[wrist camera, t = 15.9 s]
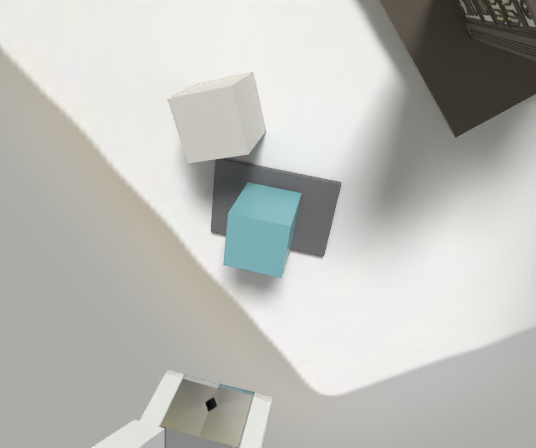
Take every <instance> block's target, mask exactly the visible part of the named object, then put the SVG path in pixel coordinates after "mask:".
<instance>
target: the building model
mask: <svg viewBox="0 0 536 448" xmlns="http://www.w3.org/2000/svg"><path fill="white" fill-rule="evenodd" d="M379 2H380V3H381V5H382V7H383V9H384V11H385V12H386V14H387V16H388V18H389V20H390V21H391V23H392V25H393V27H394V29H395V30H396V32H397V34H398V36H399V38H400V39H401V41H402V43H403V45H404V47H405V48H406V50H407V52H408V54H409V56H410V58H411V59H412V61H413V63H414V65H415V67H416V68H417V70H418V72H419V74H420V76H421V77H422V79H423V81H424V83H425V85H426V86H427V88H428V90H429V92H430V94H431V95H432V97H433V99H434V101H435V103H436V104H437V106H438V108H439V110H440V112H441V113H442V115H443V117H444V119H445V121H446V122H447V124H448V126H449V128H450V130H451V131H452V133H453V134H454V136H455V137H457V136H459V135H461V134H463V133H465V132H467V131H468V130H470V129H472V128H474V127H476V126H478V125H479V124H481V123H483V122H485V121H487V120H489V119H490V118H492V117H494V116H496V115H498V114H500V113H501V112H503V111H505V110H507V109H509V108H511V107H512V106H514V105H516V104H518V103H520V102H522V101H523V100H525V99H527V98H529V97H531V96H533V95H534V94H536V0H379Z"/></svg>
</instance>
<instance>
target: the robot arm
mask: <svg viewBox="0 0 536 448" xmlns="http://www.w3.org/2000/svg"><path fill="white" fill-rule="evenodd" d="M254 393H255V392H251V391H247V390H243V389H239V388H235V387H231V386H227V385H223V384H216V383H213V382H210V381H206V380H203V379H199V378H196V377H192V376H189V375H186V374H182V373H178V372H175V371H171V370H168V371H167V372H166V373H165V374H164V376H163V378H162V380H161V381H160V383H159V385H158V387H157V389H156V391H155V393H154V395H153V397H152V398H151V400H150V402H149V404H148V406H147V407H146V409H145V411H144V413H143V415H142V417H141V419H140V421H137V420H133V421H132V422H130V423H129V424H127V425H126V426H124V427H122V428H121V429H119V430H118V431H117V432H115V433H113V434H111V435H110V436H108V437H107V438H105V439H104V440H102V441H101V442H99V443H98V444H96V445H95V446H93V447H92V448H263V443H264V438H265V434H266V429H267V424H268V420H269V414H270V410H271V405H272V400H273V397H268V396H265V395H261V394H257V393H255V394H254Z"/></svg>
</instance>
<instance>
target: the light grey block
mask: <svg viewBox="0 0 536 448" xmlns="http://www.w3.org/2000/svg"><path fill="white" fill-rule="evenodd" d="M168 102H169V105H170V108H171V111H172V115H173V118H174V121H175V124H176V128H177V131H178V134H179V137H180V140H181V144H182V147H183V150H184V153H185V156H186V160H187V163H195V162H202V161H208V160H215V159H222V158H228V157H235V156H242V155H248V154H249V153H250V152H251V150H252V149H253V148H254V146H255V145H256V144H257V142H258V141H259V140H260V138H261V137H262V136H263V134H264V133H265V132H266V129H265V124H264V120H263V115H262V110H261V106H260V101H259V97H258V92H257V88H256V83H255V78H254V74H253V72H250V73H246V74H241V75H236V76H231V77H226V78H222V79H217V80H212V81H207V82H202V83H198V84H196V85H194V86H192V87H190V88H188V89H186V90H184V91H182V92H180V93H178V94H176V95H174V96H172V97H170V98H168Z"/></svg>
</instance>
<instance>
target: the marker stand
mask: <svg viewBox="0 0 536 448" xmlns="http://www.w3.org/2000/svg"><path fill="white" fill-rule="evenodd" d="M248 182H250V183H255V184H259V185H264V186H269V187H274V188H279V189H284V190H288V191H293V192H298V193H302V194H301V199H300V205H299V210H298V215H297V220H296V226H295V231H294V236H293V241H292V244H291V248H290V249H293V250H297V251H302V252H306V253H311V254H315V255H320V256H324V254H325V250H326V246H327V241H328V237H329V233H330V229H331V225H332V220H333V216H334V212H335V208H336V204H337V199H338V195H339V191H340V187H341V182H337V181H332V180H327V179H322V178H317V177H312V176H307V175H302V174H297V173H292V172H287V171H282V170H277V169H272V168H267V167H262V166H257V165H252V164H247V163H243V162H238V161H233V160H228V159H223V158H222V159H216V165H215V179H214V193H213V206H212V220H211V231H212V232H217V233H221V234H226V232H227V221H228V213H229V211H230V209H231V208H232V206H233V205H234V203H235V202H236V200H237V199H238V197H239V195H240V194H241V192H242V191H243V189H244V188H245V186H246V184H247V183H248Z"/></svg>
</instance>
